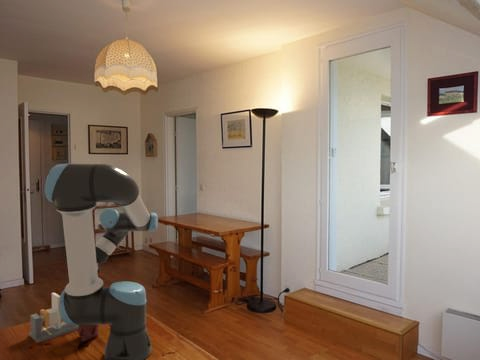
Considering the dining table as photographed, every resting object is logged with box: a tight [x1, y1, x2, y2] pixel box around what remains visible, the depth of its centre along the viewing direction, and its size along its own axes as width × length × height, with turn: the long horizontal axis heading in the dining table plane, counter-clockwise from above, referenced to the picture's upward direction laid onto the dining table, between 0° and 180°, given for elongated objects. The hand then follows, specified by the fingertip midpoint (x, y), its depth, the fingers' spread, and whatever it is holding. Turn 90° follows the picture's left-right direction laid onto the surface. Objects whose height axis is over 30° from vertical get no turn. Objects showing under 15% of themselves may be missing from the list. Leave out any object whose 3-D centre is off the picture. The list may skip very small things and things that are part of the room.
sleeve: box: [45, 292, 62, 329], centre depth 135 cm, size 4×6×12 cm, turn 48°
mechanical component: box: [77, 324, 100, 342], centre depth 132 cm, size 12×10×10 cm
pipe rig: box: [29, 313, 79, 343], centre depth 137 cm, size 17×8×8 cm, turn 137°
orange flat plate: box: [39, 308, 50, 328], centre depth 133 cm, size 1×5×5 cm, turn 48°
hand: (60, 301), depth 138 cm, fingers closed
